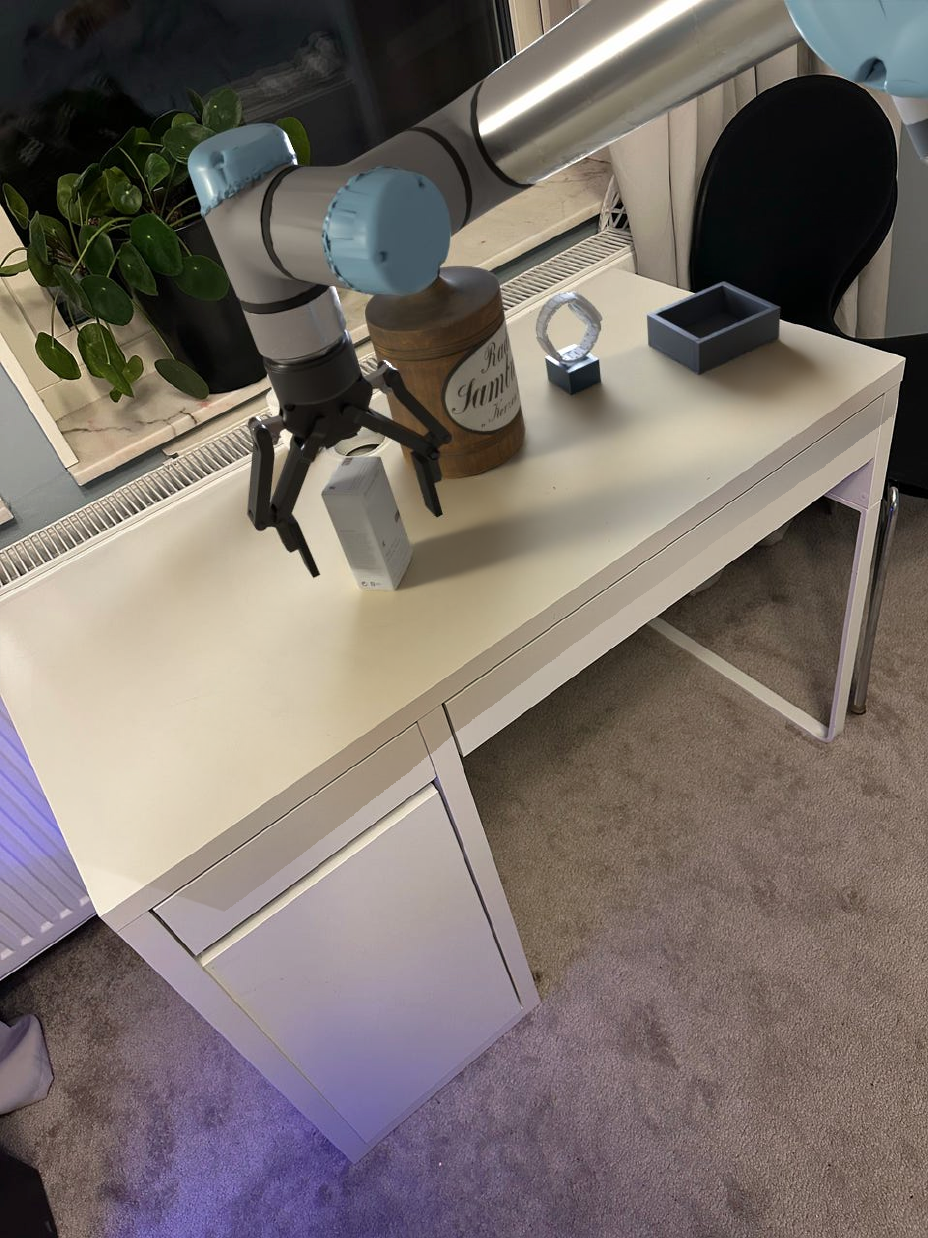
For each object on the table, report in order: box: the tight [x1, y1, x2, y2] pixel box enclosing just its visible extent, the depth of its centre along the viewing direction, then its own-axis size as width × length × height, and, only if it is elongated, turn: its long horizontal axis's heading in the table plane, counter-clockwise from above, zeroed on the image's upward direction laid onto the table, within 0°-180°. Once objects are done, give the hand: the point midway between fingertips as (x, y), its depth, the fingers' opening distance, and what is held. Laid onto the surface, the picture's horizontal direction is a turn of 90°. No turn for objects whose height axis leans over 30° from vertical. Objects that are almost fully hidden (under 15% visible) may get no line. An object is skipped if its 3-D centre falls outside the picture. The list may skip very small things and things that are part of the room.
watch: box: [535, 290, 603, 396], centre depth 102 cm, size 6×8×11 cm
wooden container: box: [364, 265, 526, 479], centre depth 93 cm, size 15×15×22 cm
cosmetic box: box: [320, 455, 413, 592], centre depth 82 cm, size 6×4×12 cm
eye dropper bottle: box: [265, 374, 323, 453], centre depth 103 cm, size 4×6×12 cm
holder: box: [646, 280, 781, 376], centre depth 104 cm, size 11×12×4 cm
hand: (374, 539), depth 84 cm, fingers open, 13 cm apart
